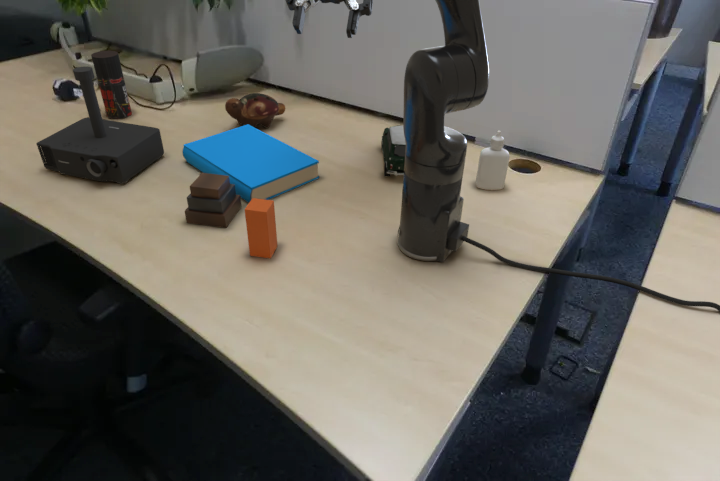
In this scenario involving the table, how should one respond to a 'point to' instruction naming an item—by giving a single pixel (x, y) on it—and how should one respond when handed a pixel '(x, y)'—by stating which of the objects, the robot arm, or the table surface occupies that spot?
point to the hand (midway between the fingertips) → (323, 33)
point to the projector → (100, 143)
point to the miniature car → (393, 150)
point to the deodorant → (111, 84)
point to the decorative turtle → (254, 109)
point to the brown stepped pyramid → (212, 201)
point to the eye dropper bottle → (493, 165)
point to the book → (252, 162)
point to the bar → (261, 227)
